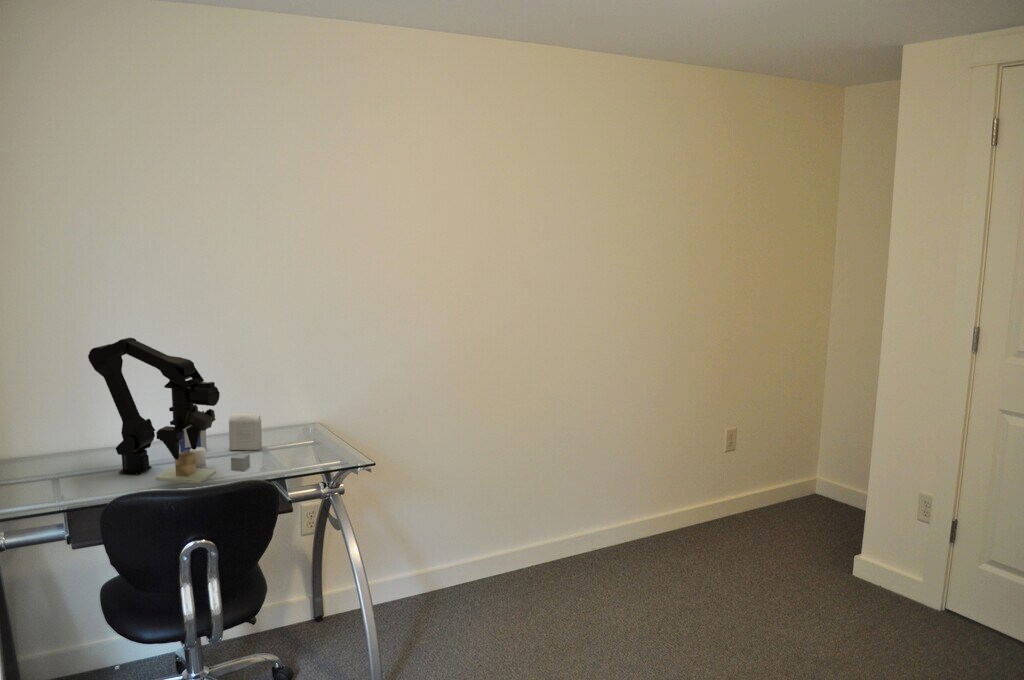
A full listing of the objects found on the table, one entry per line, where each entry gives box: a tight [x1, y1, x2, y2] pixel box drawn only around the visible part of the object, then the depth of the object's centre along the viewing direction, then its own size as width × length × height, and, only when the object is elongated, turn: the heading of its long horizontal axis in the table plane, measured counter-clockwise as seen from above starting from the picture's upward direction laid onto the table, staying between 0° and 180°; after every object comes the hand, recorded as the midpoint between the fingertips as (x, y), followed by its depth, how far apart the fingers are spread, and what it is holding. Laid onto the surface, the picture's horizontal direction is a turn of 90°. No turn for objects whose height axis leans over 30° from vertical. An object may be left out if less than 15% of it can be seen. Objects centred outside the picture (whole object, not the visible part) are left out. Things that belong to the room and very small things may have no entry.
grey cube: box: [230, 453, 251, 472], centre depth 231 cm, size 4×4×4 cm
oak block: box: [174, 452, 197, 477], centre depth 223 cm, size 4×4×6 cm
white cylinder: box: [190, 447, 207, 468], centre depth 233 cm, size 4×4×5 cm
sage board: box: [154, 466, 217, 484], centre depth 223 cm, size 14×9×1 cm, turn 82°
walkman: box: [179, 429, 208, 453], centre depth 244 cm, size 8×3×12 cm, turn 125°
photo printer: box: [228, 412, 263, 451], centre depth 248 cm, size 10×4×12 cm, turn 98°
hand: (185, 454), depth 222 cm, fingers open, 9 cm apart
